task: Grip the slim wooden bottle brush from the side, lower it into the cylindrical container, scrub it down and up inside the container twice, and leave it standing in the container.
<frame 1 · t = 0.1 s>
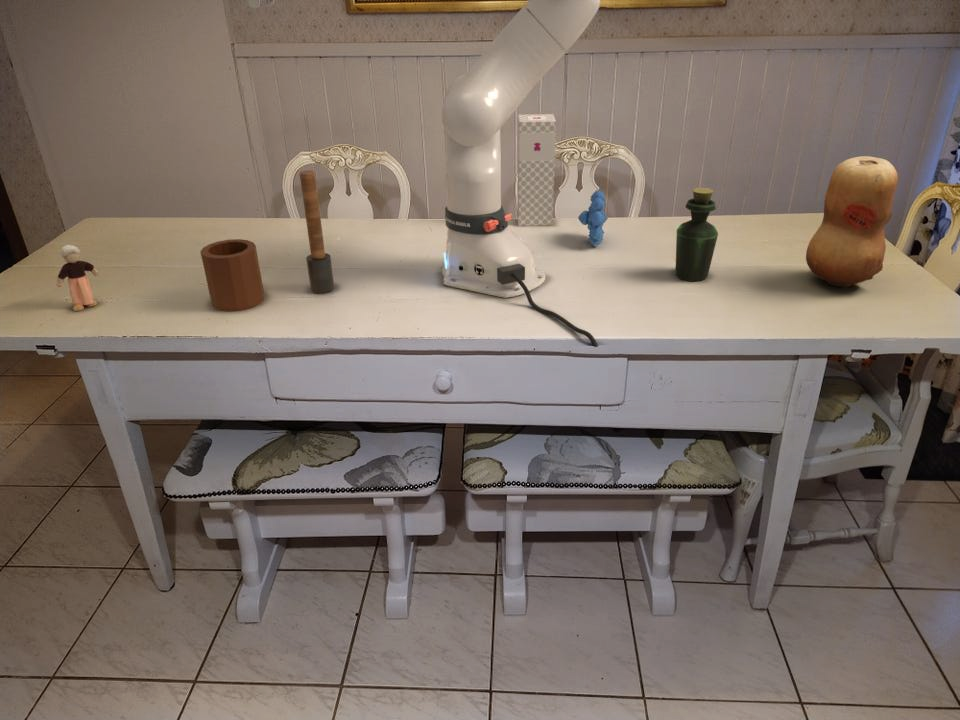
hand: (260, 5, 130), 52 cm above the table, tool tilted 20°, fingers open, 8 cm apart
cylindrical container: (238, 300, 145), on the table
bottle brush: (322, 289, 149), on the table
butternut squash: (837, 284, 147), on the table
grandmother figurine: (87, 306, 144), on the table
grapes: (591, 243, 170), on the table
potion bottle: (691, 276, 152), on the table
box: (534, 220, 184), on the table
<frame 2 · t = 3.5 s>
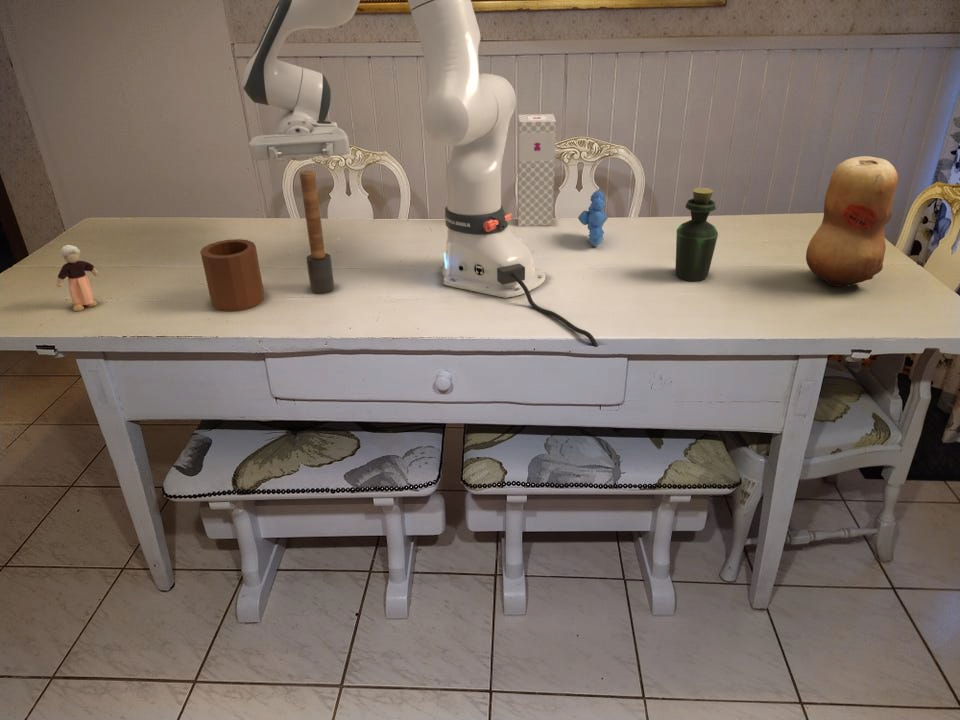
hand: (302, 155, 147), 24 cm above the table, tool horizontal, fingers open, 8 cm apart
nothing on the table moved.
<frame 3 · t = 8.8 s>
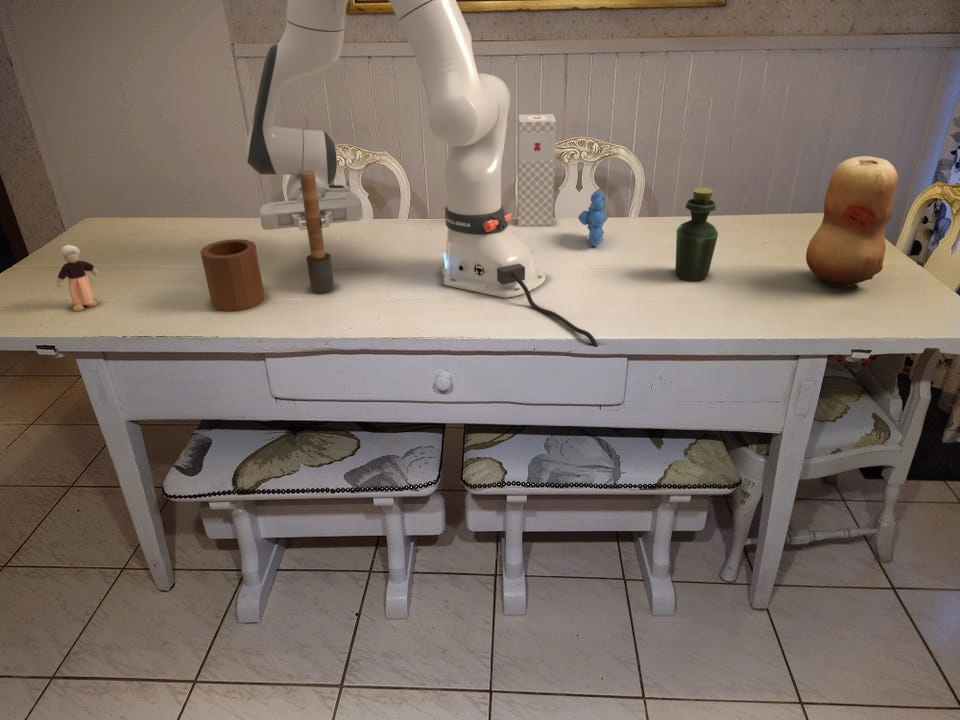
hand: (314, 224, 141), 14 cm above the table, tool horizontal, fingers closed on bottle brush, 3 cm apart
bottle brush: (322, 289, 149), on the table, touching gripper
everything else where it was.
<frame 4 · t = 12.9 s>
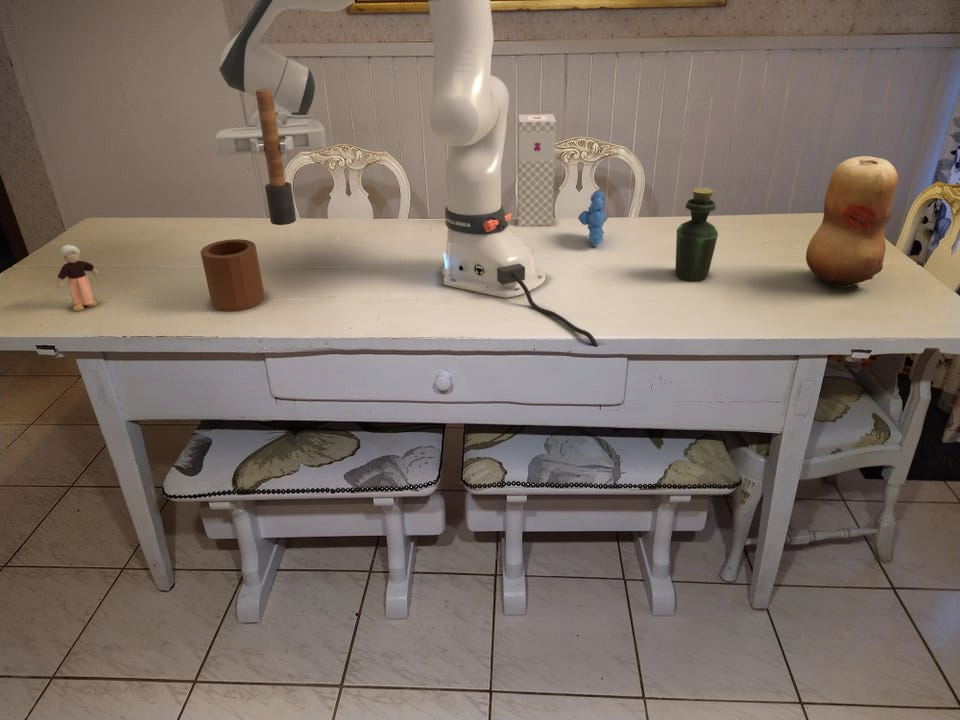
hand: (272, 148, 133), 29 cm above the table, tool horizontal, fingers closed on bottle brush, 3 cm apart
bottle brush: (283, 221, 140), point 15 cm above the table, touching gripper
everything else where it was.
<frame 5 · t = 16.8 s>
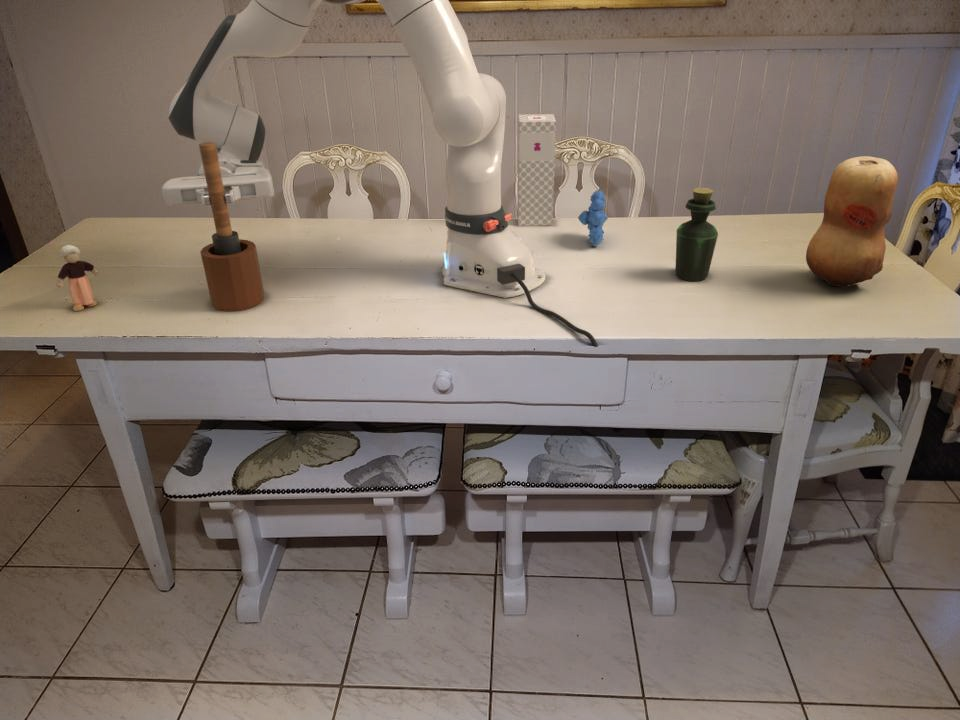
hand: (217, 200, 134), 21 cm above the table, tool horizontal, fingers closed on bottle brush, 3 cm apart
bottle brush: (231, 269, 142), point 7 cm above the table, touching gripper
everything else where it was.
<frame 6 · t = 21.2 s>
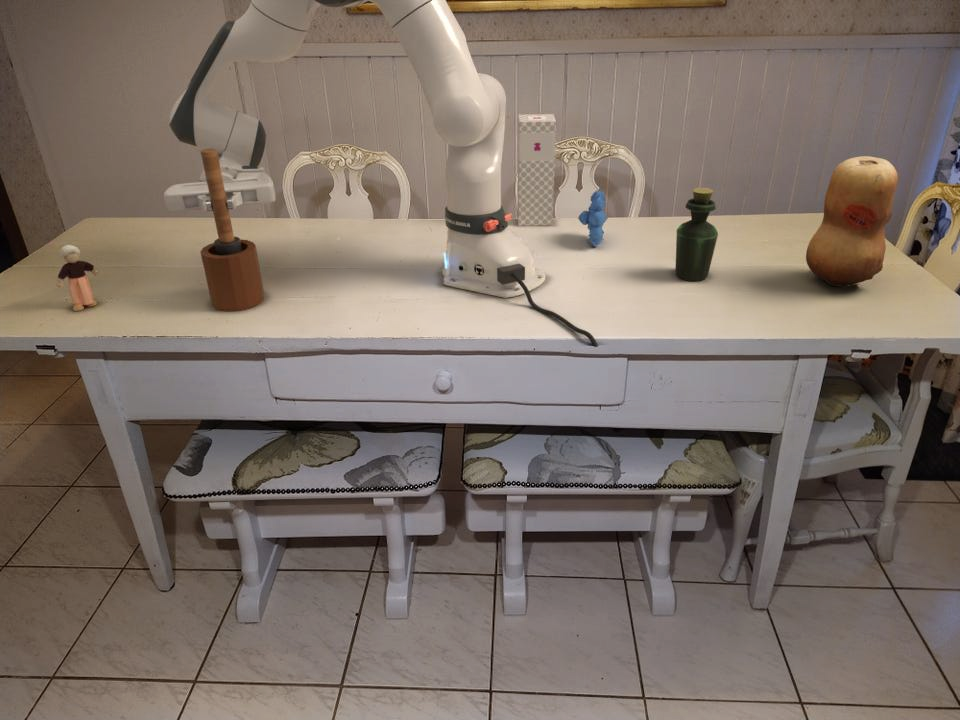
hand: (219, 206, 135), 20 cm above the table, tool horizontal, fingers closed on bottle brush, 3 cm apart
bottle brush: (233, 274, 142), point 6 cm above the table, touching gripper
everything else where it was.
when the fingers open (15 cm above the table, at t = 24.7 s): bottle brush stays where it is, resting on cylindrical container.
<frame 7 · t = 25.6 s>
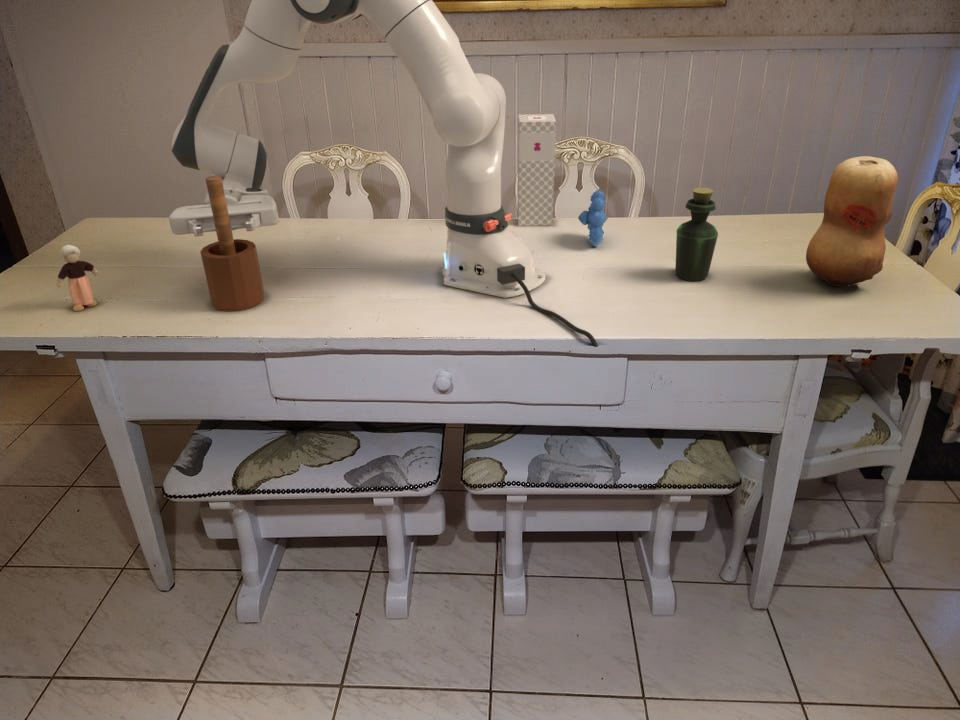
hand: (224, 229, 137), 15 cm above the table, tool horizontal, fingers open, 8 cm apart
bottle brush: (237, 297, 145), point 1 cm above the table, touching cylindrical container
everything else where it was.
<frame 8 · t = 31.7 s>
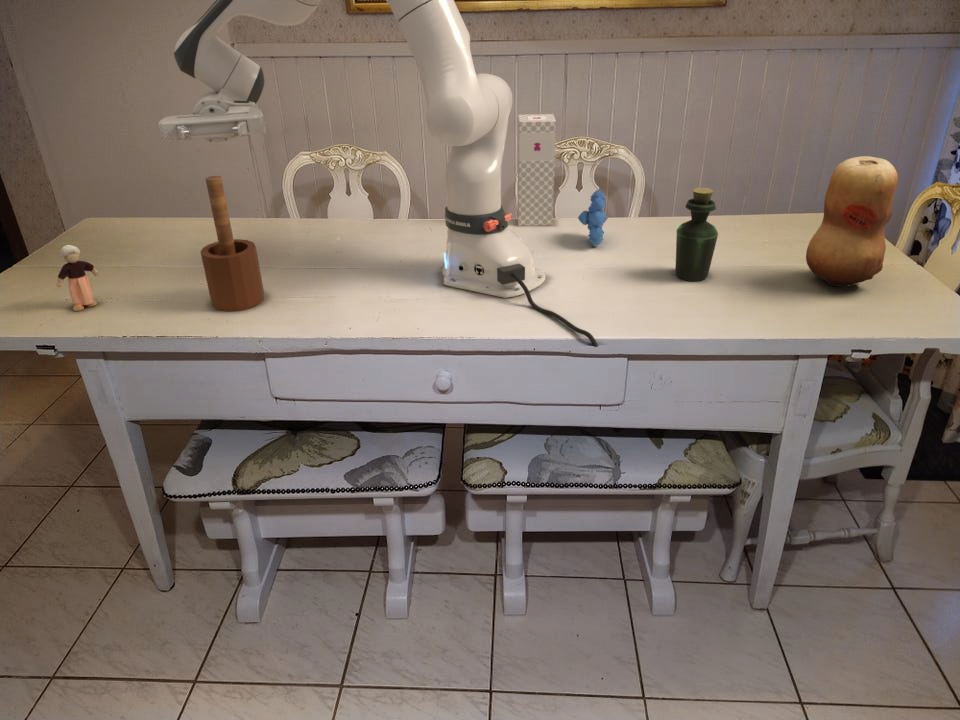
hand: (211, 133, 140), 30 cm above the table, tool horizontal, fingers open, 8 cm apart
nothing on the table moved.
at the end: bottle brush inside the target area in the cylindrical container (0.1 cm from its centre), point 0.6 cm above the cylindrical container's base; the gripper is holding nothing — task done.
